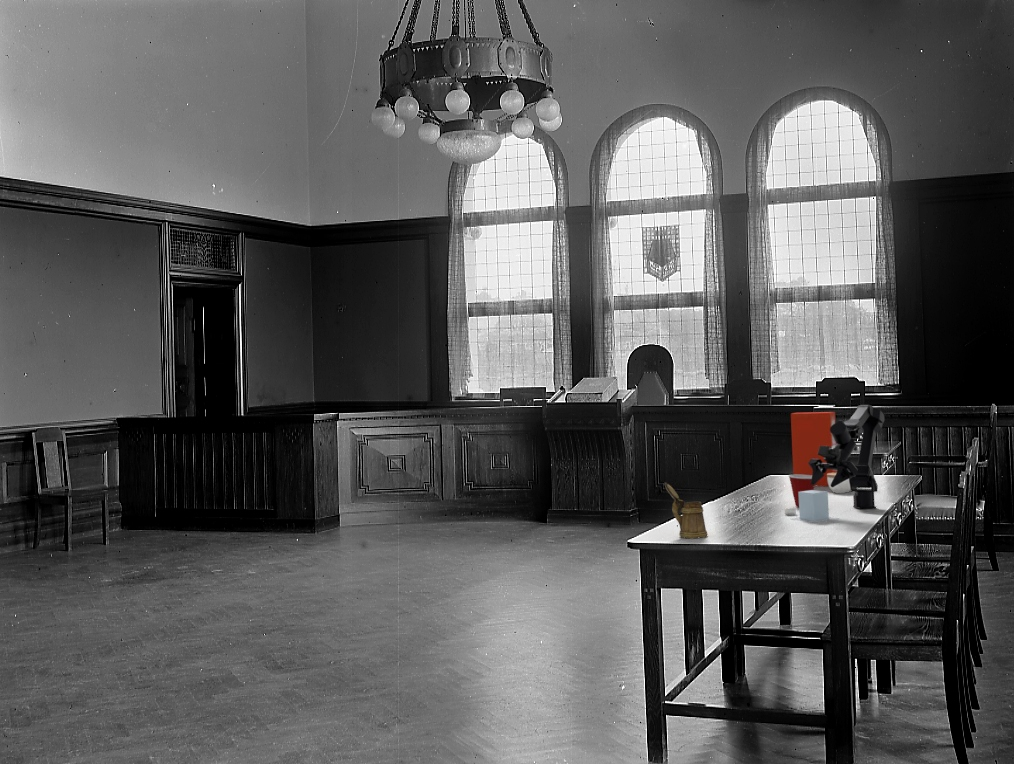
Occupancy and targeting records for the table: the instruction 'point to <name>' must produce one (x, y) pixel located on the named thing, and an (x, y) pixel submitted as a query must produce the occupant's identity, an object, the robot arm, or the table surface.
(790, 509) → the white domed knob
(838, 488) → the lidded jar
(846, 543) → the table surface
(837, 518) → the mat
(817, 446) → the file binder
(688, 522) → the wooden mug
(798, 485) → the plastic cup
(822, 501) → the light blue block
